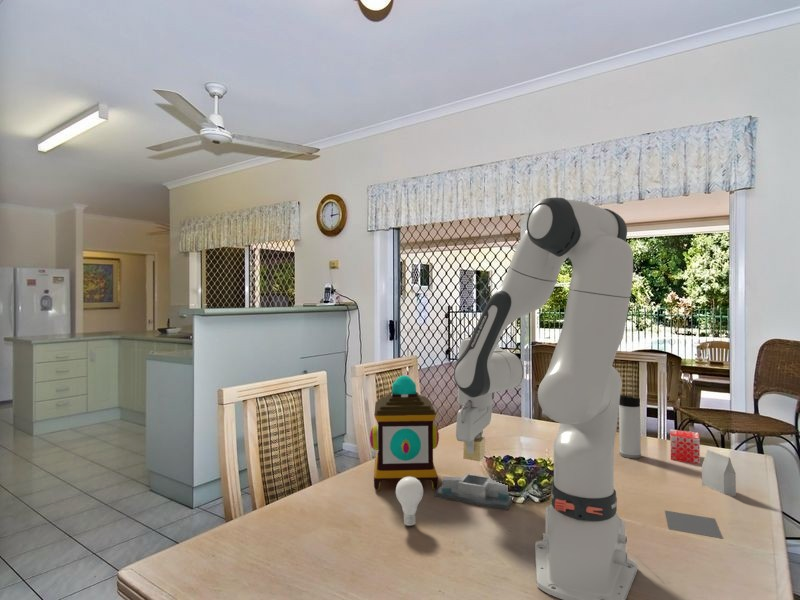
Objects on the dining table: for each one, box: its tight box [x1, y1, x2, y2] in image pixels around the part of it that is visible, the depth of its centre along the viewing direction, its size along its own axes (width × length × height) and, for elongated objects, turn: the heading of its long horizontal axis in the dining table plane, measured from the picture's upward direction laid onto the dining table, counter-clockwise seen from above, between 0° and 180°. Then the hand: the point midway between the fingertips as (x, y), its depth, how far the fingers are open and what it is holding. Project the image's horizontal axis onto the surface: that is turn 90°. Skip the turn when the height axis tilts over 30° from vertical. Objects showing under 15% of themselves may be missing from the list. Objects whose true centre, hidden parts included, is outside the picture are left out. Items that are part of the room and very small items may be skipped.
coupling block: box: [463, 434, 486, 462], centre depth 122 cm, size 4×4×6 cm
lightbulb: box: [395, 476, 424, 527], centre depth 106 cm, size 6×6×11 cm
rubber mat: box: [664, 510, 724, 540], centre depth 104 cm, size 10×10×1 cm
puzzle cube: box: [669, 429, 701, 465], centre depth 150 cm, size 8×8×8 cm
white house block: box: [701, 449, 737, 497], centre depth 124 cm, size 4×7×10 cm, turn 12°
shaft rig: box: [434, 472, 514, 511], centre depth 122 cm, size 10×19×4 cm, turn 64°
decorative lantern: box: [369, 374, 440, 491], centre depth 134 cm, size 20×20×30 cm
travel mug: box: [618, 394, 642, 460], centre depth 153 cm, size 6×7×20 cm
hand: (474, 449), depth 122 cm, fingers closed on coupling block, 4 cm apart
